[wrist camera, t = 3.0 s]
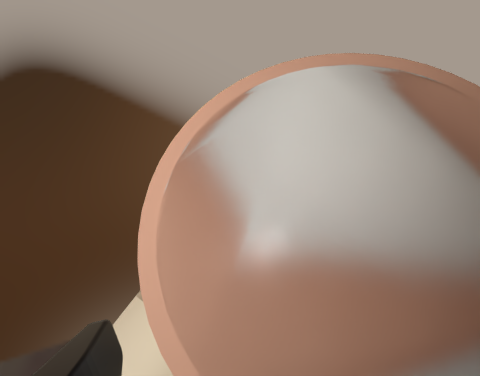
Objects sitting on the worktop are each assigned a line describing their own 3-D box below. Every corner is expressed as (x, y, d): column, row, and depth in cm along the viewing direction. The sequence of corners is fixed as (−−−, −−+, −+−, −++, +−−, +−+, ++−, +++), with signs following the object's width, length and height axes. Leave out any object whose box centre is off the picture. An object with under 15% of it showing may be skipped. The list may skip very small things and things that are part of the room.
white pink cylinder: (381, 314, 15) (674, 164, 4) (318, 431, 13) (517, 695, 2) (277, 247, 16) (289, 7, 6) (210, 346, 15) (45, 280, 4)
